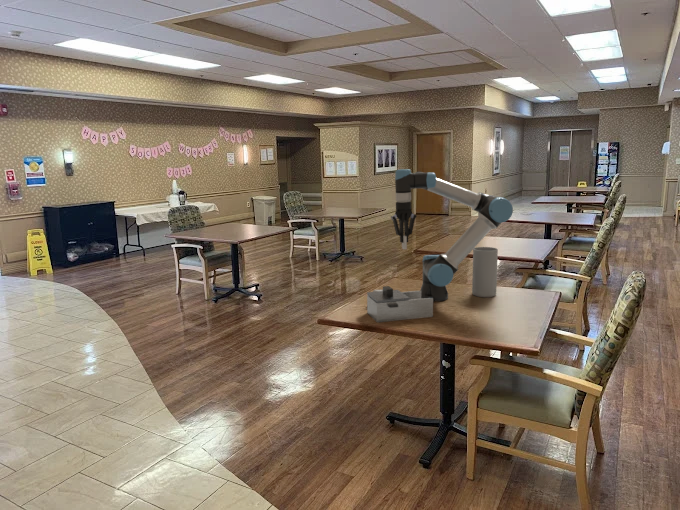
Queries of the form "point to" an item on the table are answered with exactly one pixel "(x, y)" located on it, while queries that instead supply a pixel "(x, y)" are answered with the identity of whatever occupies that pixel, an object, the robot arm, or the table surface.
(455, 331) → the table surface
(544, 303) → the table surface
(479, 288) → the cylinder vase
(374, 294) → the lid
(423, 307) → the grey lidded storage box
